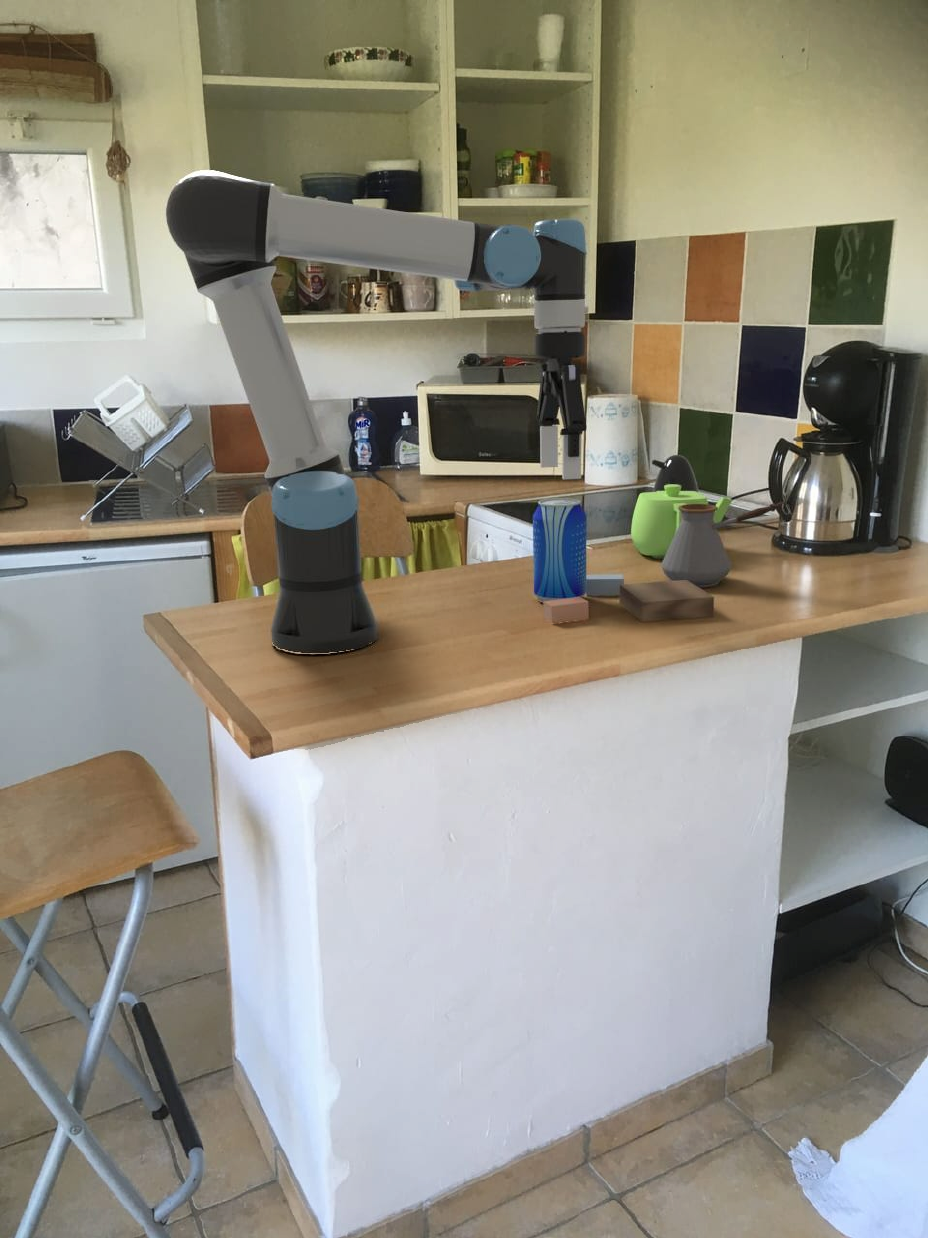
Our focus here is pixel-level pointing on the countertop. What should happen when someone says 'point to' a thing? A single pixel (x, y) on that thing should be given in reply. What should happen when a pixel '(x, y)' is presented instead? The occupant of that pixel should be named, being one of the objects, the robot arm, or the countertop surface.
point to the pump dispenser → (675, 474)
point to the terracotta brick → (565, 609)
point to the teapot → (665, 517)
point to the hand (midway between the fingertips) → (559, 472)
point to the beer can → (559, 549)
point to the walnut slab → (666, 600)
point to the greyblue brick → (604, 584)
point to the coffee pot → (702, 545)
